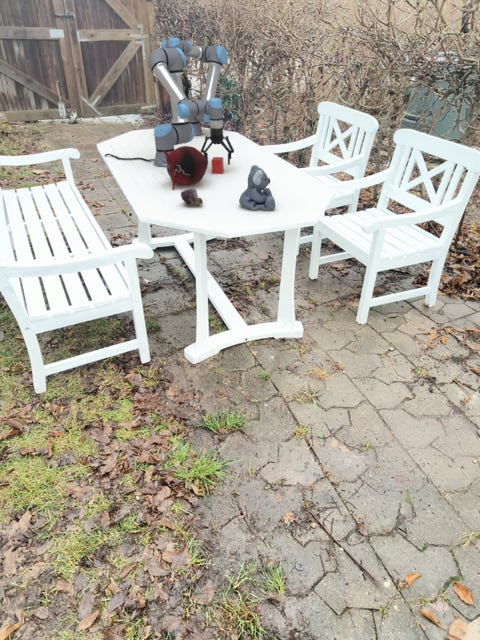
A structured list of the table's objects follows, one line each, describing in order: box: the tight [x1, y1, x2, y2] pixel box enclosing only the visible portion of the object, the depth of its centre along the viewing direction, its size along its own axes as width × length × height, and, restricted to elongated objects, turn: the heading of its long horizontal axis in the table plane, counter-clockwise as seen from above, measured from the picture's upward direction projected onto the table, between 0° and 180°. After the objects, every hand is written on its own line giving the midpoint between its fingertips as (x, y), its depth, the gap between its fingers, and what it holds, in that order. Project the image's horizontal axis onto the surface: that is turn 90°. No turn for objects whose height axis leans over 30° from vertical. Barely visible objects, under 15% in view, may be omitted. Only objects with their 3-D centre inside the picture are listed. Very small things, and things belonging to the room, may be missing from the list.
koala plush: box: [238, 164, 276, 211], centre depth 224 cm, size 17×18×20 cm
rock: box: [180, 188, 204, 207], centre depth 229 cm, size 12×9×10 cm
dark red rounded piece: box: [163, 145, 209, 190], centre depth 255 cm, size 21×24×25 cm
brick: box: [211, 156, 225, 175], centre depth 276 cm, size 7×6×8 cm
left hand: (218, 164), depth 276 cm, fingers open, 13 cm apart
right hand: (178, 98), depth 321 cm, fingers open, 13 cm apart
